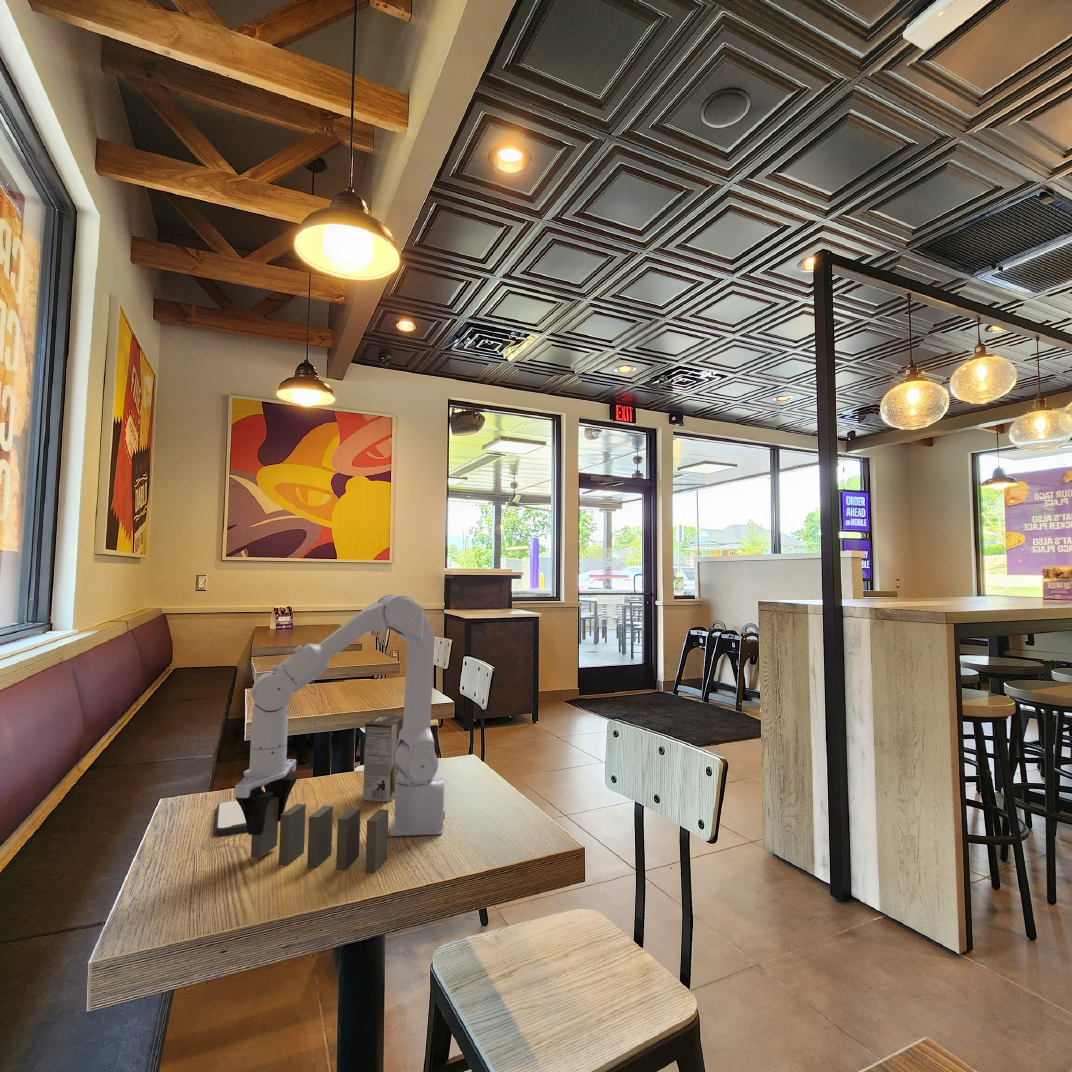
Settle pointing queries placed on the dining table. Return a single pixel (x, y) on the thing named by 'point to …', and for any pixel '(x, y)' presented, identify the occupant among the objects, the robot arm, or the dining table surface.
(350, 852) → the domino
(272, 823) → the end domino
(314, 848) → the domino
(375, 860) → the domino
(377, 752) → the coffee box
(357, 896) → the dining table surface
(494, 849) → the dining table surface
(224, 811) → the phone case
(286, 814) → the domino
